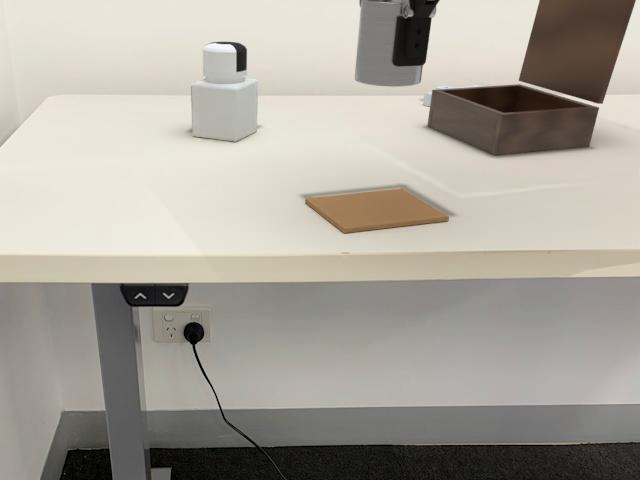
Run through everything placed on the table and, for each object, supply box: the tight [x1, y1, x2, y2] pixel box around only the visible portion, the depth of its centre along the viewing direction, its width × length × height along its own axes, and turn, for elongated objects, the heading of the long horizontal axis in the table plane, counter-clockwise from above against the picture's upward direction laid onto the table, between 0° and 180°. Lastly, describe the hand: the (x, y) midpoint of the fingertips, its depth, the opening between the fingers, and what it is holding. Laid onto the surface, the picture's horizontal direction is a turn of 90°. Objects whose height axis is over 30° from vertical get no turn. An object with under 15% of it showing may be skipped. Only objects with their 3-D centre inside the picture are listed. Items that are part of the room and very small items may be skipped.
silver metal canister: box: [354, 0, 424, 88], centre depth 71 cm, size 6×6×7 cm
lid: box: [518, 0, 637, 105], centre depth 101 cm, size 16×17×5 cm
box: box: [427, 83, 600, 157], centre depth 104 cm, size 15×17×6 cm
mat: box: [304, 188, 450, 234], centre depth 80 cm, size 12×10×1 cm
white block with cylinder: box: [190, 41, 259, 143], centre depth 105 cm, size 7×7×12 cm
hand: (390, 57), depth 72 cm, fingers closed on silver metal canister, 6 cm apart
